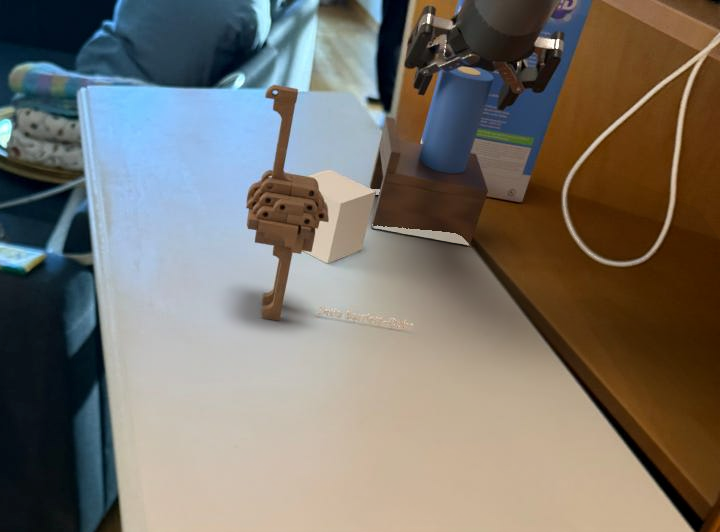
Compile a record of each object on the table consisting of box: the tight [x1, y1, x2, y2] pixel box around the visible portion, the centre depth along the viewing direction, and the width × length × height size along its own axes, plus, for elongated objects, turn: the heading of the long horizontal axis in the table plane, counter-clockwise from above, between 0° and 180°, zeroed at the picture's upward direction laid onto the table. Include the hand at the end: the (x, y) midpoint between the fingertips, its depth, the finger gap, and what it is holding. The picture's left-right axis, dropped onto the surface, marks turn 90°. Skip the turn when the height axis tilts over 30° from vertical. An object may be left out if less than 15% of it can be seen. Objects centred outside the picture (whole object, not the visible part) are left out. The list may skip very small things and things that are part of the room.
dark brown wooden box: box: [369, 116, 488, 245], centre depth 103 cm, size 11×11×8 cm
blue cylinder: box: [419, 66, 494, 174], centre depth 98 cm, size 5×5×9 cm
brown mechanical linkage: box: [245, 84, 415, 331], centre depth 79 cm, size 17×7×18 cm, turn 88°
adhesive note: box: [302, 169, 376, 264], centre depth 94 cm, size 6×6×6 cm
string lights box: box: [420, 0, 594, 203], centre depth 106 cm, size 13×8×26 cm, turn 86°
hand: (461, 93), depth 97 cm, fingers open, 8 cm apart
